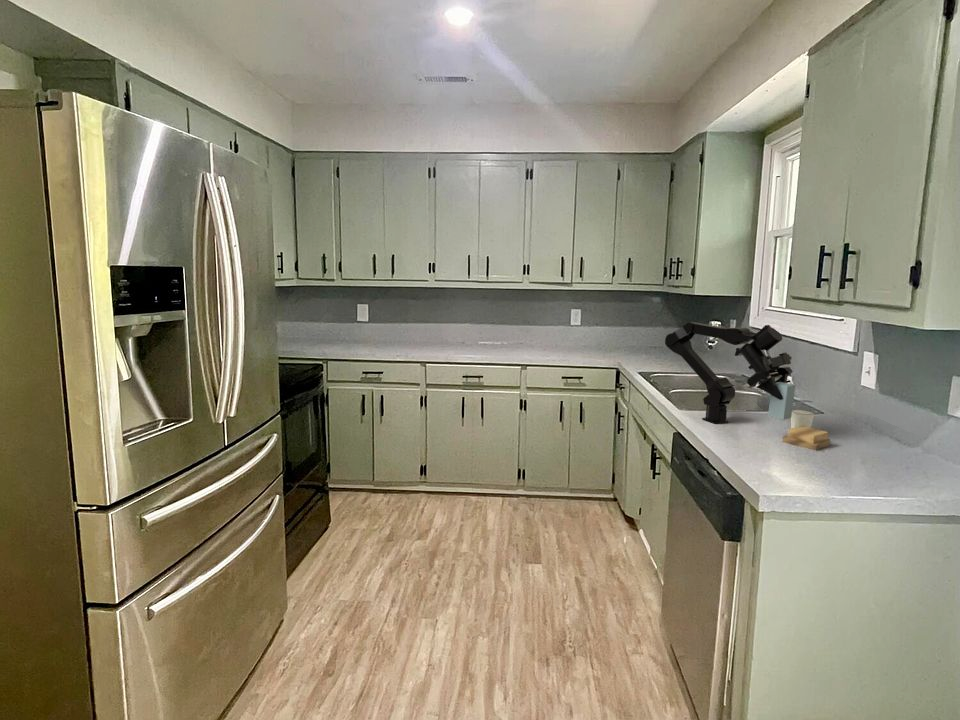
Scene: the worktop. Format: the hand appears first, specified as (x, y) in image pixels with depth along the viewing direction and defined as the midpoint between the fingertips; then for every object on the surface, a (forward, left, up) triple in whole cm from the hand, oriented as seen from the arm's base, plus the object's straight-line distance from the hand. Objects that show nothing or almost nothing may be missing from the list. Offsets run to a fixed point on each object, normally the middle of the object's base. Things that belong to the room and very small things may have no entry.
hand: (786, 398), depth 184 cm
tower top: (+7, +2, -12) cm, 14 cm away
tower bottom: (+7, +3, -14) cm, 16 cm away
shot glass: (-3, +13, -14) cm, 19 cm away
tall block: (-1, 0, -7) cm, 7 cm away
